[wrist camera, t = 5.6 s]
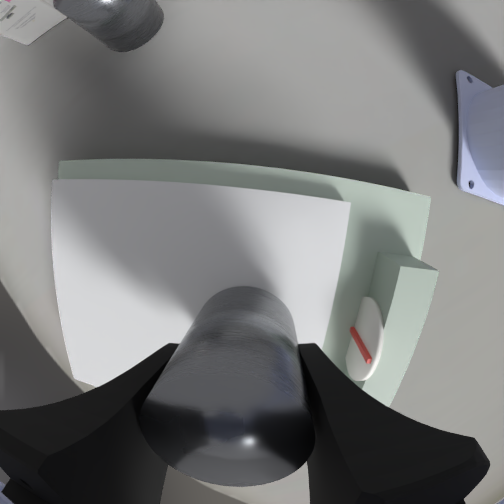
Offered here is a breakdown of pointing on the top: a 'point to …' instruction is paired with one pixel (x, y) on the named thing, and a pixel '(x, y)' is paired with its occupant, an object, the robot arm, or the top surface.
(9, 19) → the ink cartridge box
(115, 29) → the cylinder
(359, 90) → the top surface
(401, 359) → the scale
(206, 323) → the cylinder
